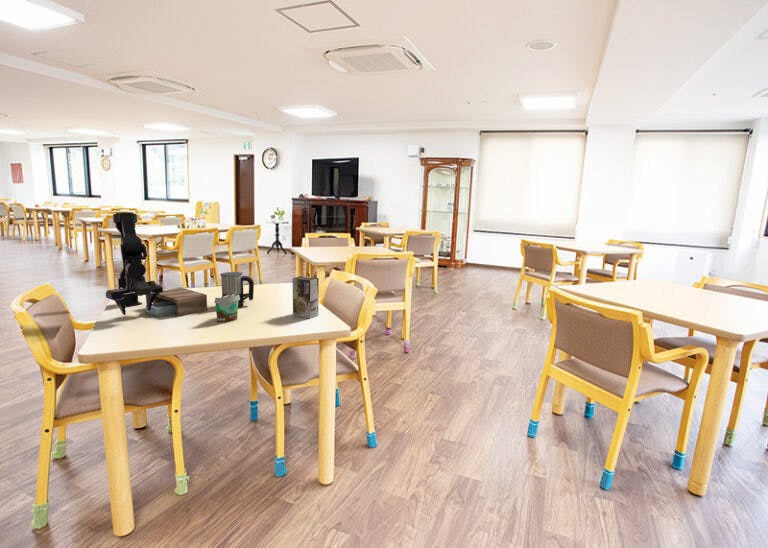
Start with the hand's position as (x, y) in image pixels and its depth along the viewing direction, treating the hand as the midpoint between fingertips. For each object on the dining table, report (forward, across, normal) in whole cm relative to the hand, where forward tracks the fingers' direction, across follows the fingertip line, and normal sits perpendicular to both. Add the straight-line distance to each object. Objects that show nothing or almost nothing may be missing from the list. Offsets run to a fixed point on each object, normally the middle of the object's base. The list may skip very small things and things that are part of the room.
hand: (136, 312), depth 165 cm
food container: (+2, +23, -28) cm, 36 cm away
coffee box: (+2, +47, -45) cm, 65 cm away
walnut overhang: (+2, +17, 0) cm, 17 cm away
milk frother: (+2, +39, -9) cm, 40 cm away
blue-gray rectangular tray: (+2, +13, 0) cm, 14 cm away
